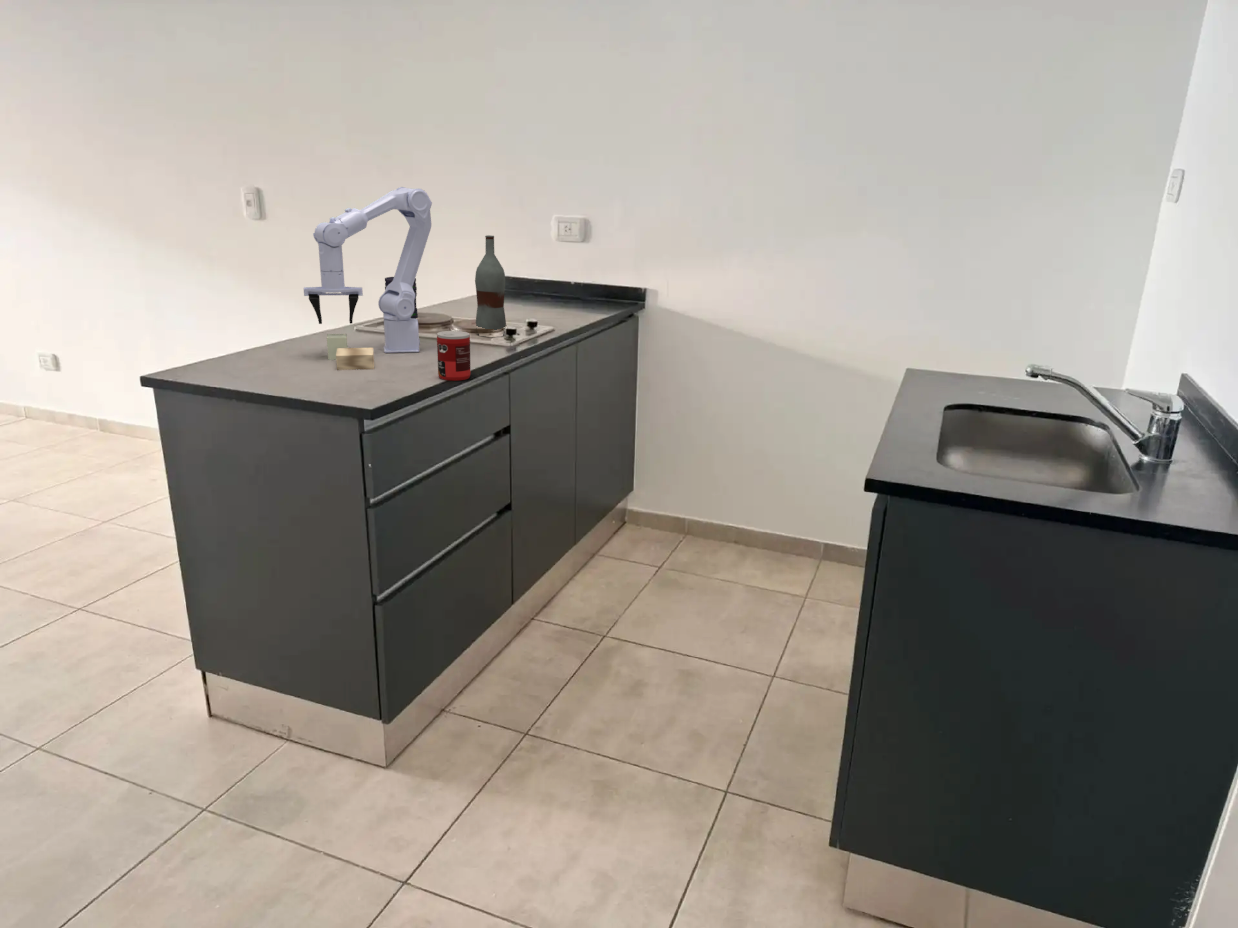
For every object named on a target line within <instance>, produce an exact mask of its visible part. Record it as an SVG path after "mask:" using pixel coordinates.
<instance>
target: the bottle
mask: <svg viewBox="0 0 1238 928" xmlns="http://www.w3.org/2000/svg"><path fill="white" fill-rule="evenodd" d="M484 238H485V254H484V256H483V257H482V259H481V260H480V263H479V264H478V266H477V267H476V271H475V275H474V278H475V279H474V282H475V284H474V285H475V291H476V292H475V293H476V303H477V305H476V306H477V307H476V316H475V327H476V326H478V327H482V328H485V329H494V330H497V329H501V328H503V327H505V326H506V325H507V320H506V319H507V318H506V313H505V290H506V274H505V270H504V267H503V265H502V264H501V263H500V261H499V260H498V258H497V256H496V254H495V236H494V235H489V234H488V235H487V234H486V235H485V236H484ZM505 328H506V327H505Z"/></svg>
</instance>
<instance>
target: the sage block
mask: <svg viewBox="0 0 1238 928" xmlns="http://www.w3.org/2000/svg"><path fill="white" fill-rule="evenodd" d="M348 344H349V343H348V334H347V333H327V334H326V346H327V361H336V353H337V348H349V347H348Z"/></svg>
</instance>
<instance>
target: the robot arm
mask: <svg viewBox="0 0 1238 928" xmlns="http://www.w3.org/2000/svg"><path fill="white" fill-rule="evenodd" d="M432 204H433V202H432V199H431V198H430V196H429V194H428V193H427V192H426V191H425V190H424V189H422V188H409V187H404V186H400V187H398V188H396V189H393V190H390V191H389V192H387V193H386V194H383V196H380V197H379V198H378V199H376V200H374V201H372V202H371V203H369V204H368V205H366V206H364V207H362V208H361V209H358V208H355V207H352V208H351V207H347V208H346V209H344V212H342V213H341V214H339V215H338V216H336V217H334V216H332V217H330V218H329V222H326V221H325V222H324V221H323V222H320V223H318V224H317V225H316V227H315V229H314V232H313V233H312V236H313V238H314V240H315V242H316V243H317V245H318V256H319V270H320V284H321V286H312V287H311V286H310V287H305V286H304V287H303V296H304V297H308V300H309V302H310V304H311V305H312V308H313V310H314V312H315V315H316V317H317V320H318V324H319V325H322V324H323V318H322V312H321V299H320V297H321V296H348V307H349V320H348V321H349V324H350V325H351V324H353V320H354V319H353V318H354V314H355V309H356V306H357V303H358V302H359V297H361V296H362V297H363V296H364V295H363V287H362V286H359V287H357V286H356V287H355V286H345V273H344V271H345V270H344V260H343V259H344V257H343V245H344V243H345V241H346V240H347V239H349V238H350V237H352V236H354V235H356V234H358V233H360V232H361V231H363V230H365V229H366V228H367V225H368V222H369V221H371V220H374V219H375V218H378V217H380V216H382V215H384V214H386V213H388V212H391V211H392V210H397V211H399V213H401V215H402V216H403V217H404V218H405V219H406V222H407V223H408V225H409V228H408V231H407V234H406V238H405V241H404V244H403V247H402V251H401V254H400V257H399V260H398V263H397V267H396V270H395V273H394V276H393V277H394V279H393V281H392V282H391V283H390V284H389V285H388V286H387V287H386V290H385V289H384V292H383V293H382V294H381V295H380V297H379V299H378V308H379V310H380V312H381V313H382V314H383V315H382V316H383V331H384V344H385V345H383V352H384V353H385V354H386V353H387V354H388V353H420V345H421V340H420V338H419V337H420V336H419V320H418V318H417V319H416V318H411V316H412V314H413V312H414V309H415V306H414V299H415V293H414V291H413V288H412V287H413V284H414V280H415V278H416V276H417V274H418V270H419V267H420V263H421V261H422V258H423V255H424V252H425V251H424V250H425V248H426V245H427V242H428V239H429V235H430V232H431V229H432V217H431V208H432Z"/></svg>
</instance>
